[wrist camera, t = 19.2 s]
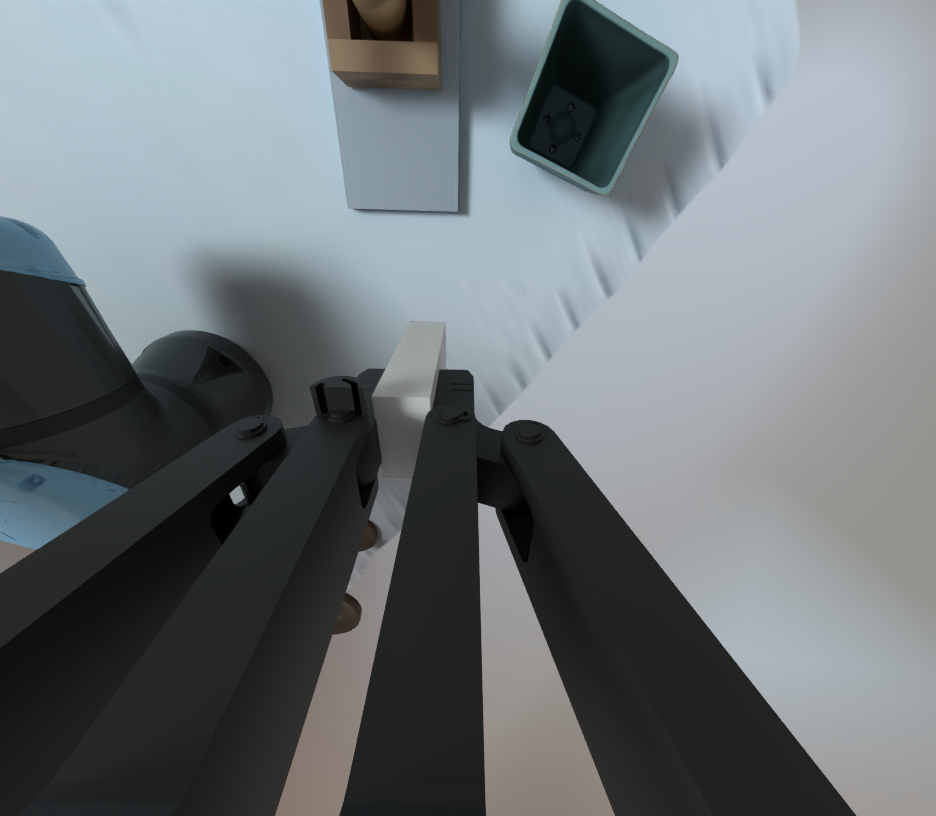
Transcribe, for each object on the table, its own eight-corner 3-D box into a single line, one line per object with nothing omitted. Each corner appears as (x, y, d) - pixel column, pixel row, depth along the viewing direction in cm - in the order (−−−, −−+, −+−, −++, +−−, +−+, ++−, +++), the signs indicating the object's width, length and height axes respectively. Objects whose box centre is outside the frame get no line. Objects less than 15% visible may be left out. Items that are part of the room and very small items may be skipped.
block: (347, 86, 29) (331, 70, 25) (330, -61, 25) (308, -103, 21) (441, 89, 29) (437, 74, 26) (439, -56, 25) (435, -98, 21)
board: (351, 208, 35) (338, 208, 31) (312, -90, 25) (287, -137, 22) (458, 211, 35) (456, 212, 31) (461, -84, 25) (459, -130, 22)
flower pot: (541, 40, 28) (568, -21, 21) (629, 93, 30) (683, 54, 22) (498, 159, 33) (507, 145, 25) (576, 200, 34) (607, 198, 27)
